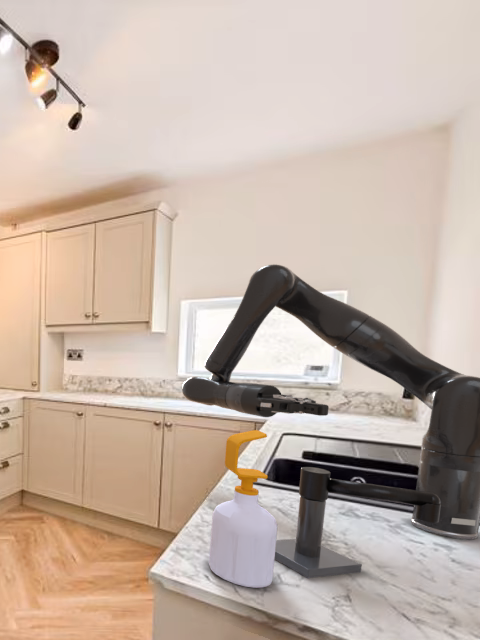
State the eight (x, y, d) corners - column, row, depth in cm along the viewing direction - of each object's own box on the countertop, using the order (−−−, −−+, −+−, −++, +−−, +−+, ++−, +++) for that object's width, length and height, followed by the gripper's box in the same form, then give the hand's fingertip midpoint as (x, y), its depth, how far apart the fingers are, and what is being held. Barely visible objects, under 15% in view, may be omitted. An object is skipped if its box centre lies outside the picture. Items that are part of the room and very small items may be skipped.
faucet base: (304, 544, 82) (310, 486, 81) (361, 572, 73) (368, 507, 71) (256, 549, 80) (262, 489, 79) (307, 578, 71) (315, 510, 69)
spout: (432, 517, 69) (436, 483, 69) (443, 525, 66) (448, 490, 65) (296, 495, 78) (299, 465, 77) (300, 502, 75) (303, 471, 74)
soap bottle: (283, 592, 66) (298, 439, 64) (220, 585, 68) (232, 435, 66) (256, 563, 75) (269, 427, 73) (201, 557, 77) (211, 424, 74)
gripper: (230, 383, 100) (299, 392, 83) (277, 383, 103) (354, 391, 86) (227, 414, 101) (296, 429, 84) (274, 413, 103) (350, 428, 86)
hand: (325, 410), depth 85 cm, fingers closed
